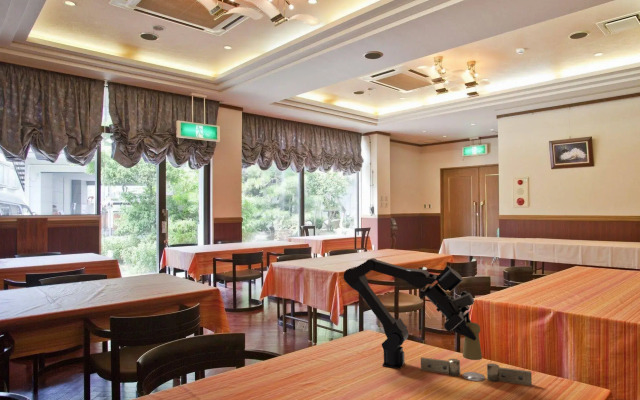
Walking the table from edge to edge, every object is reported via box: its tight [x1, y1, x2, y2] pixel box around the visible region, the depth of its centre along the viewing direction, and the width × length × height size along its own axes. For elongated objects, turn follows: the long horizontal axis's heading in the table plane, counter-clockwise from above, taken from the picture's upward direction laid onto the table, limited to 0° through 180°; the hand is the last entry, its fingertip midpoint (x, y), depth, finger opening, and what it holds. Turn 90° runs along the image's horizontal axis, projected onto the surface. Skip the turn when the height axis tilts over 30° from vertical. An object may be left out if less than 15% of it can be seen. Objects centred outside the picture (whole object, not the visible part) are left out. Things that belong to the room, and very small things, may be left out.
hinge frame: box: [420, 357, 533, 387], centre depth 136 cm, size 34×7×4 cm, turn 66°
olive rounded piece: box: [462, 321, 483, 361], centre depth 136 cm, size 6×6×11 cm
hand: (476, 337), depth 136 cm, fingers closed on olive rounded piece, 5 cm apart
